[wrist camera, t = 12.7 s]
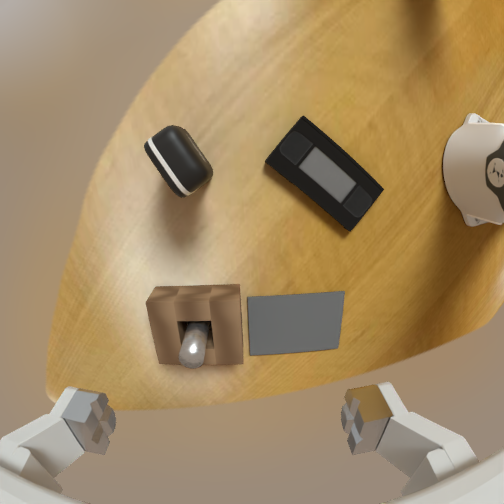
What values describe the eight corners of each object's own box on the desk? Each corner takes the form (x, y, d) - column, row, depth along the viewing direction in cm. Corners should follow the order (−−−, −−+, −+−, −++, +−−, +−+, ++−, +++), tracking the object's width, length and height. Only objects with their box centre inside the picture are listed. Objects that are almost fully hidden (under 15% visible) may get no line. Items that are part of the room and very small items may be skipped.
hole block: (239, 284, 41) (239, 300, 36) (243, 343, 44) (243, 363, 39) (155, 286, 41) (145, 302, 36) (166, 344, 44) (159, 363, 39)
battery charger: (222, 173, 36) (213, 178, 26) (197, 190, 37) (179, 202, 26) (191, 128, 35) (170, 116, 24) (167, 146, 35) (137, 141, 24)
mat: (343, 291, 42) (344, 292, 42) (337, 346, 45) (338, 348, 45) (247, 296, 42) (247, 298, 41) (250, 353, 45) (250, 355, 44)
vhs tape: (345, 228, 40) (350, 232, 38) (264, 161, 37) (265, 161, 35) (377, 187, 38) (384, 189, 36) (300, 117, 35) (303, 115, 33)
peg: (209, 307, 42) (202, 348, 32) (211, 325, 43) (205, 368, 33) (189, 308, 42) (176, 348, 32) (191, 325, 43) (180, 368, 33)
